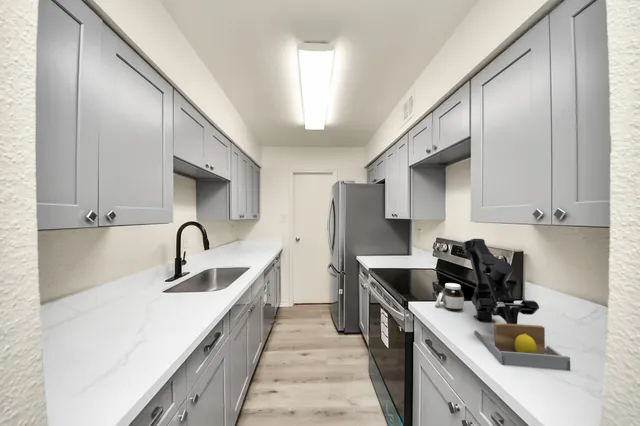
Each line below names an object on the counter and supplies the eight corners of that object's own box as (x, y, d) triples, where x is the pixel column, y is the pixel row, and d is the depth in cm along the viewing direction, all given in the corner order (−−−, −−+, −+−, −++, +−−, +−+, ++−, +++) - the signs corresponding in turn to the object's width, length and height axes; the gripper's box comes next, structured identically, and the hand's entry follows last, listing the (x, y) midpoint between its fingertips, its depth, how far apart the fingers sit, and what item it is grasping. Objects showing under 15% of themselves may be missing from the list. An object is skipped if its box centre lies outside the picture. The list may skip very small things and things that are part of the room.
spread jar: (466, 312, 123) (466, 287, 123) (442, 312, 123) (441, 287, 123) (454, 304, 135) (453, 281, 135) (431, 304, 135) (431, 281, 135)
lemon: (515, 352, 87) (514, 328, 87) (536, 358, 84) (536, 333, 84) (514, 360, 83) (514, 334, 83) (537, 366, 79) (536, 339, 79)
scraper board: (494, 349, 89) (494, 322, 89) (541, 353, 86) (541, 325, 86) (496, 352, 87) (496, 324, 87) (544, 355, 85) (544, 327, 85)
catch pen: (474, 334, 101) (474, 324, 101) (527, 338, 97) (527, 327, 97) (502, 365, 80) (501, 352, 80) (570, 371, 77) (570, 357, 77)
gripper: (517, 299, 104) (535, 341, 93) (466, 297, 107) (478, 337, 96) (529, 285, 96) (550, 328, 85) (474, 283, 99) (487, 324, 88)
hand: (515, 330), depth 89 cm, fingers closed
